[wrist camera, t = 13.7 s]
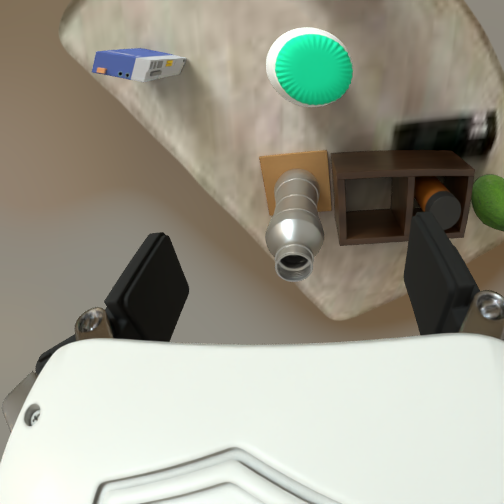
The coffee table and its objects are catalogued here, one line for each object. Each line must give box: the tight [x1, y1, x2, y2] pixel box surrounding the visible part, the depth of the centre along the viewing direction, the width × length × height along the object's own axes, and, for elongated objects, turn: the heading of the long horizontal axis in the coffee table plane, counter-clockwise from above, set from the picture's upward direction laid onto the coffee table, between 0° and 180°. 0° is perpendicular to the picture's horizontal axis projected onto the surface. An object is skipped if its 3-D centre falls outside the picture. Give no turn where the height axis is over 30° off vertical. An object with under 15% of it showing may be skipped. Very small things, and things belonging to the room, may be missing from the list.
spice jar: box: [414, 176, 461, 230], centre depth 38 cm, size 5×5×10 cm
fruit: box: [471, 174, 504, 231], centre depth 35 cm, size 8×8×12 cm
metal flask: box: [265, 169, 324, 282], centre depth 37 cm, size 6×7×20 cm
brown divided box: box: [331, 150, 475, 246], centre depth 40 cm, size 11×20×8 cm, turn 100°
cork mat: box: [259, 150, 332, 216], centre depth 45 cm, size 10×10×1 cm
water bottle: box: [266, 28, 353, 107], centre depth 25 cm, size 7×7×25 cm
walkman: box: [92, 48, 186, 82], centre depth 31 cm, size 8×3×12 cm, turn 70°
